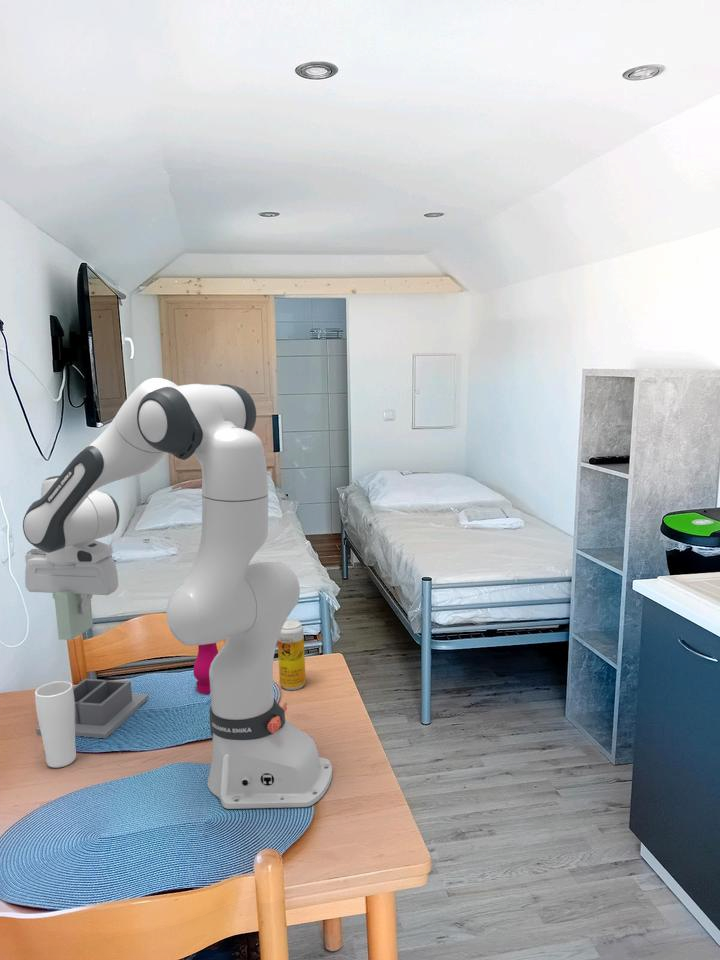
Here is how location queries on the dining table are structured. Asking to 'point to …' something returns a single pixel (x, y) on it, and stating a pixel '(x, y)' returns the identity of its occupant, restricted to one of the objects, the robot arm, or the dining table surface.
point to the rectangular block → (71, 615)
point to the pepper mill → (204, 666)
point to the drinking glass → (57, 722)
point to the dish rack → (103, 706)
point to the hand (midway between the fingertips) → (74, 612)
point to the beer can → (291, 656)
